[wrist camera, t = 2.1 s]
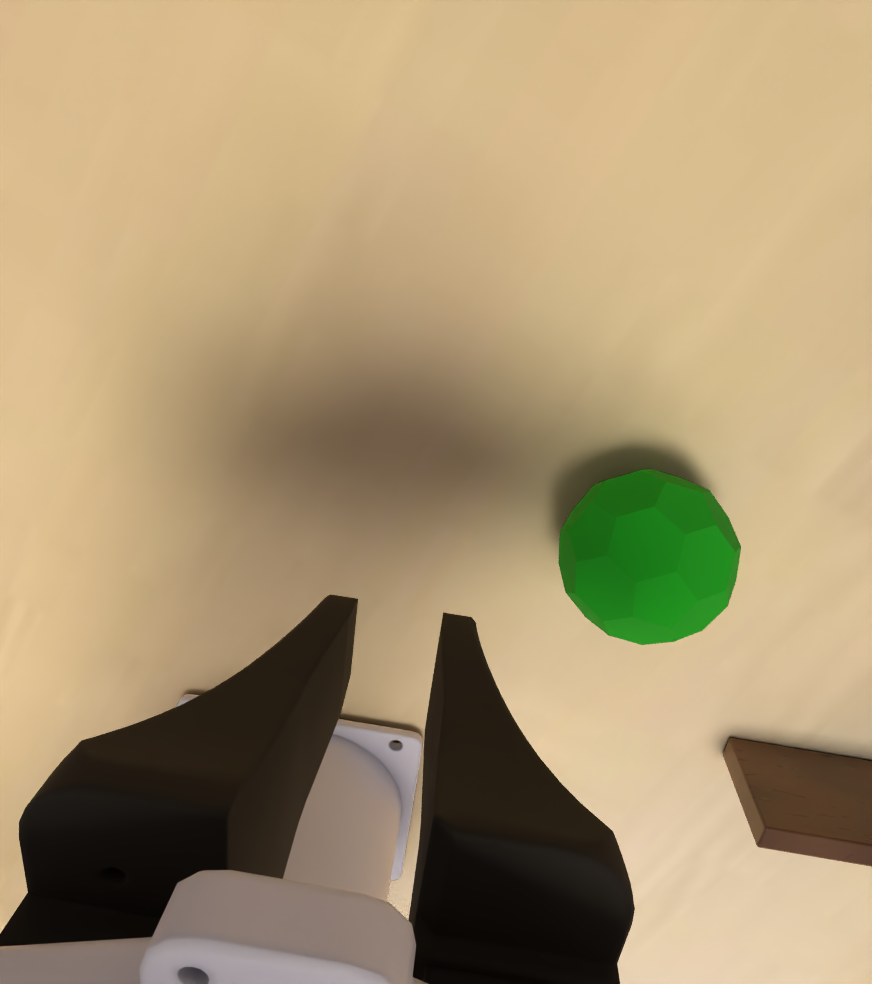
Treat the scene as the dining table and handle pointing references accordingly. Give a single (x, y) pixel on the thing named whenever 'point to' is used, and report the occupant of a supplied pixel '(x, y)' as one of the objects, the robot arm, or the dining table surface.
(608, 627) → the polyhedron
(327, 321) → the dining table surface
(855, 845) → the brown l-shaped bars
